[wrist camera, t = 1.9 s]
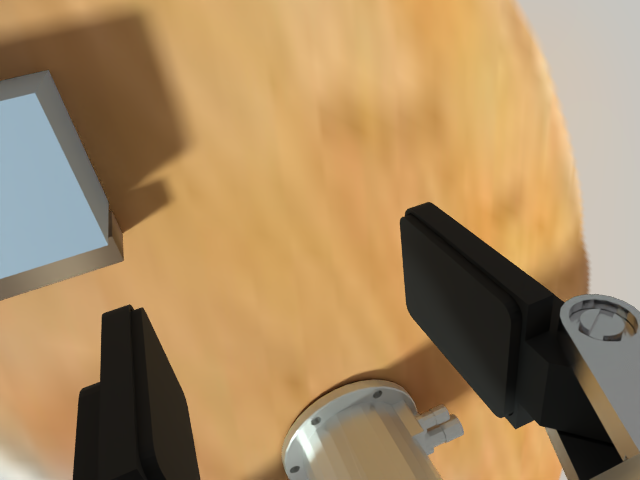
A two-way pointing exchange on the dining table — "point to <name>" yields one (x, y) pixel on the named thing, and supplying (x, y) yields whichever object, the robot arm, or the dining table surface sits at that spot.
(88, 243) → the slate block
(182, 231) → the dining table surface
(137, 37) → the dining table surface
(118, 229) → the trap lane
